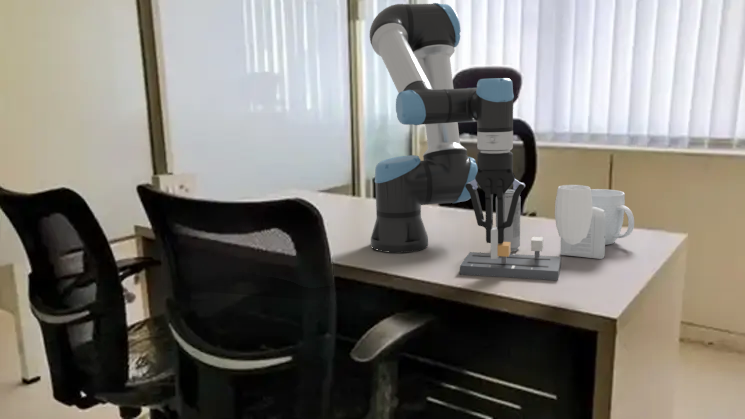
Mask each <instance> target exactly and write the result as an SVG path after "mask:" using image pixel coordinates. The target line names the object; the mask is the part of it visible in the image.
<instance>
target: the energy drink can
mask: <svg viewBox="0 0 745 419" xmlns="http://www.w3.org/2000/svg"><path fill="white" fill-rule="evenodd" d="M514 192H515V191H514V190H513V188H512V189H511V188H508V190H507V191H506V192H505V221H507V217H508V213H509V209H510V206H511V202H512V198H513V194H514ZM495 227H497V195H496V197H495ZM504 242H511V252H516V251H519V248H520V247H521V196H520V197H519V201H518V205H517V208H516V212H515V216H514V220H513V223H512V225H511V226H510V227H507V228H505V229H504Z"/></svg>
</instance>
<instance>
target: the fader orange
mask: <svg viewBox="0 0 745 419" xmlns="http://www.w3.org/2000/svg"><path fill="white" fill-rule="evenodd" d="M510 254H512V253H511V242H503V243H502V244H500V243H499V244H498V256H502V258H501V263H507V257H509V255H510Z"/></svg>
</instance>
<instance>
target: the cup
mask: <svg viewBox="0 0 745 419" xmlns="http://www.w3.org/2000/svg"><path fill="white" fill-rule="evenodd" d="M554 203H555V204H554V207H555V208H554V220H555V227H556V230H557V233H558V237H560V238H561V237H562V238H563V239H564V240H565V242H566V243H569V244H572V245H574V244H577V243H580V242H581V241H582V239H584V238H586V237H587V234H588V231H589V228H590V224H591V219H592V196H591V187H590V186H588V185H582V184H562V185H559V186H558V187H557V190H556V197H555V202H554Z"/></svg>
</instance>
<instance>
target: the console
mask: <svg viewBox="0 0 745 419" xmlns="http://www.w3.org/2000/svg"><path fill="white" fill-rule="evenodd" d="M501 258H502V256H499V257H498V259H491V252H481V251H480V252H478V251H475V252H474V251H469V252H468V254H467V255H466V257H465V258H464V260H463V261H462V262H461V263H460V265H459V275H466V276H481V277H483V276H484V277H500V278H514V279H516V278H517V279H529V280H530V279H531V280H547V281H548V280H549V281H559V276H560V271H561V266H562V256H557V255H556V256H555V255H540V257H539V258H535V254H519V253H517V254H516V253H510V255H509V257H507V263H501Z"/></svg>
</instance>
